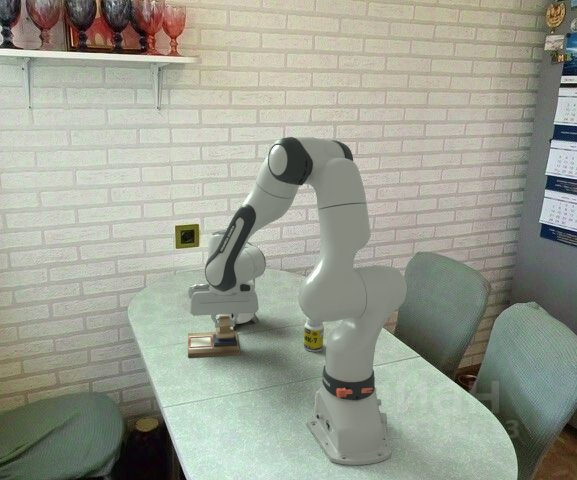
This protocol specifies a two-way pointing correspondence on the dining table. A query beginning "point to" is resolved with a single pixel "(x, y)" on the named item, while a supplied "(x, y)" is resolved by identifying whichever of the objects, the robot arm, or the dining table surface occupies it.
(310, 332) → the supplement bottle
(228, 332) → the stamp
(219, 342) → the station board
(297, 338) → the dining table surface
